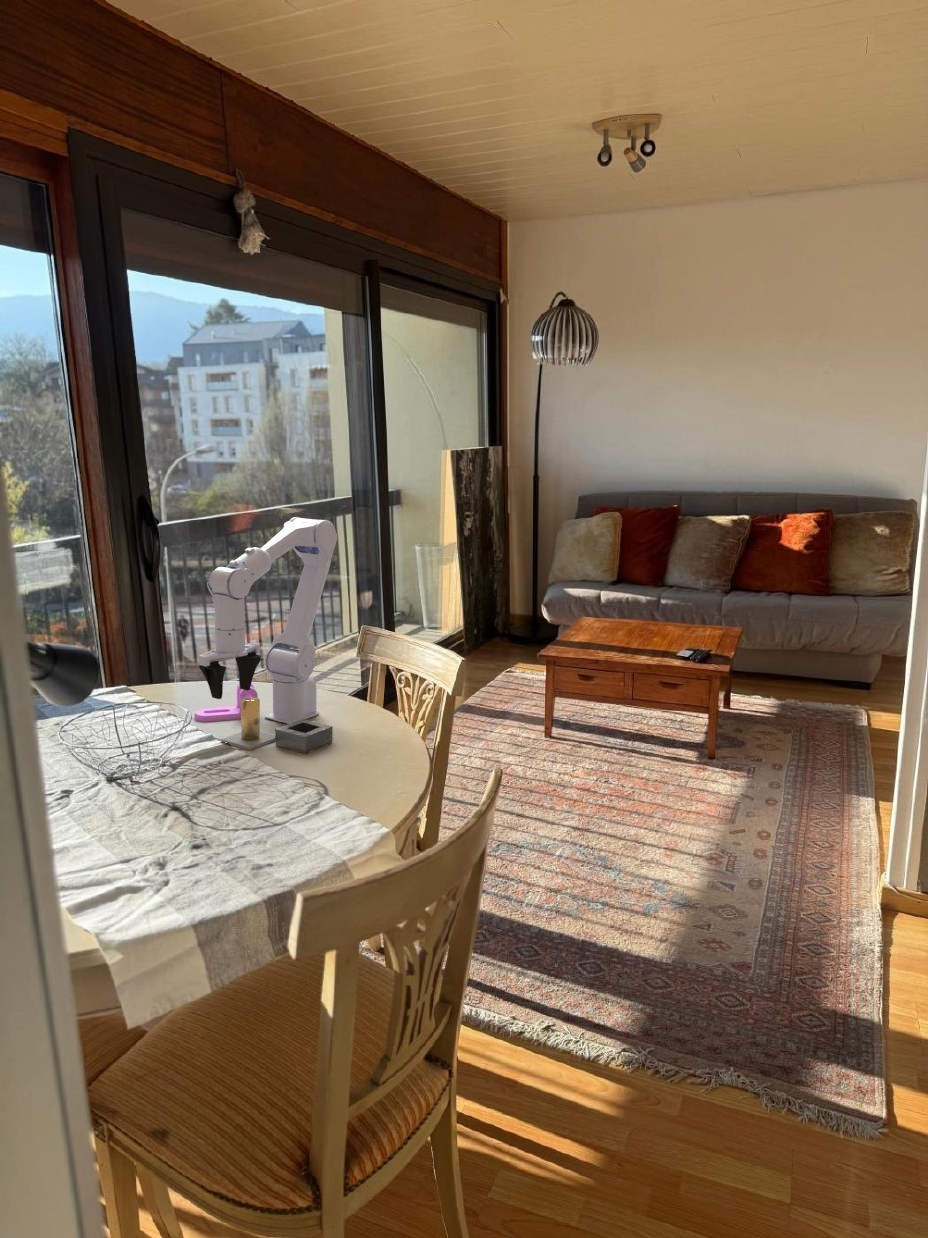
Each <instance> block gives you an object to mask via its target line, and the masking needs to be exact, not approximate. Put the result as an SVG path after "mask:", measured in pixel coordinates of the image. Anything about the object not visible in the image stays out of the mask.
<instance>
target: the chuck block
mask: <svg viewBox="0 0 928 1238" xmlns="http://www.w3.org/2000/svg"><path fill="white" fill-rule="evenodd" d="M274 731H275V732H274V734H275V735H274V736H275V741H274V742H275V743H274V746H275V747H280V748H284V749H287V750H290V751H295V752H297V753H300V754H304V755H307V754H310V753H312V752H315V751H316V750H318V749H322V748H324V747H326V746H328V745H331V744H333V726H332V725H329V724H328V725H327V724H324V723H320V722H317V721H313V720H308V719H301V720H298V721H295V722H293V723H290V724H287V723H286V724H285V725H282V726H279V727H276V728H275V730H274Z"/></svg>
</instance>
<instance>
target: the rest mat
mask: <svg viewBox="0 0 928 1238" xmlns="http://www.w3.org/2000/svg"><path fill="white" fill-rule="evenodd" d="M221 741H222V742H221ZM220 742H221V743H223V742H227V743H229V744H230V746H233V747H237V748H240V749H243V750H246V751H252V750H254V749H257V748H260V747H262V746H263V747H264V746H265V745H268V744H270V743H272V742H275V735H273V734H271V733H267V732H262V731H260V738H259V739H258V740H254V741H245V740H242V739H241V731H240V732H237V733H235V734H232V735H229V736H226V737H223V738H221V739H220ZM229 744H228V745H229Z"/></svg>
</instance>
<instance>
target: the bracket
mask: <svg viewBox="0 0 928 1238" xmlns="http://www.w3.org/2000/svg"><path fill="white" fill-rule="evenodd" d="M236 687H237V688H236V705H231V706H218V707H206V708H200V709H198V710H195V711H194V719H195V720H196V719H197V720H196V721H198V720H199V722H216V721H217V722H218V721H230V720H241V699H243V698H249V697H254V698H258V699H259V696H258V695H259V694H258V692H257V690H256V689H255V687H254V685H253V683H251V687H250V690H248V691H247V690H243V689H240V684H238V685H237V686H236Z"/></svg>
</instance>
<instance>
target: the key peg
mask: <svg viewBox="0 0 928 1238" xmlns="http://www.w3.org/2000/svg"><path fill="white" fill-rule="evenodd" d="M260 703H261V702H260V698H259V697H258V698H254V697H249V698H243V699H241V719H240V721H241V723H240V724H241V725H240V727H241V728H240V729H241V730H240V732H241V739H242V740H245V741H254V740H258V739H259V738H260V732H261V731H260V729H261V726H260V725H261V724H260V723H261V722H260V717H261V716H260V714H261V713H260V712H261V711H260V710H261V709H260V705H261V704H260Z"/></svg>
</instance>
